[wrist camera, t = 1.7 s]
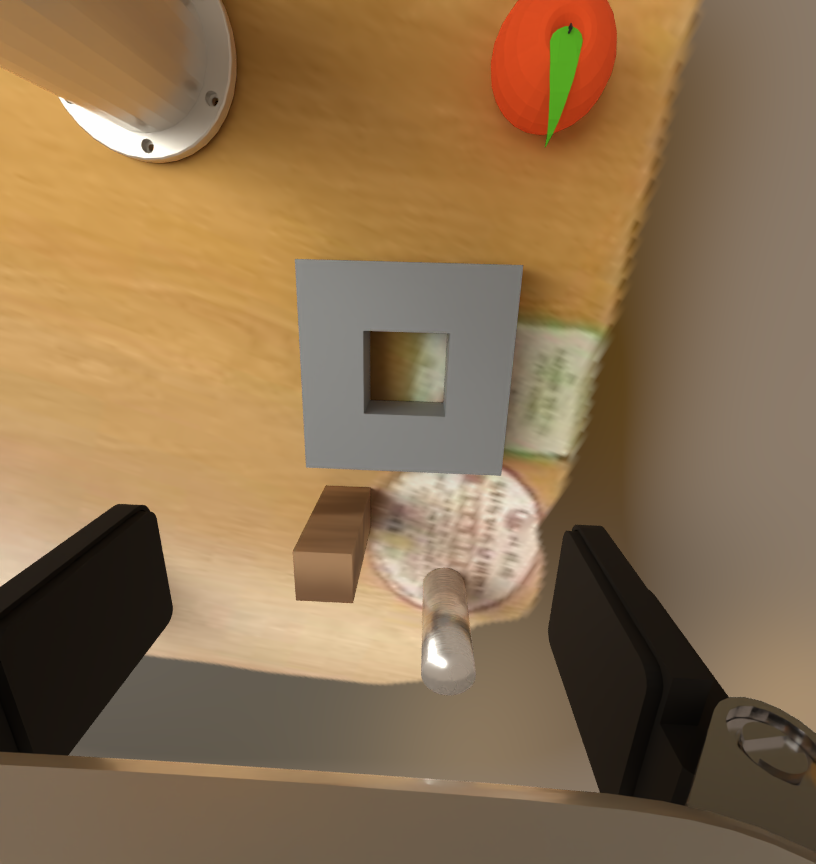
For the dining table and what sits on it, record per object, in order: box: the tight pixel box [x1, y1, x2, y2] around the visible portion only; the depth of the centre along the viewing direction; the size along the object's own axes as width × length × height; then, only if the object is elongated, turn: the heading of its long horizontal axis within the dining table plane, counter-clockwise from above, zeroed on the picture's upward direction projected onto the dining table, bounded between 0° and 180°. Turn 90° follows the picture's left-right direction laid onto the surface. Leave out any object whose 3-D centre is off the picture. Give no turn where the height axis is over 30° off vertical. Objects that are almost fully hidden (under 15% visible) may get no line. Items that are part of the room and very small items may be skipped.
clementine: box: [491, 0, 617, 147], centre depth 25 cm, size 8×7×7 cm
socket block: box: [295, 259, 523, 476], centre depth 33 cm, size 15×15×4 cm
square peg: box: [293, 486, 371, 603], centre depth 35 cm, size 4×4×10 cm
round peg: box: [421, 568, 476, 695], centre depth 37 cm, size 4×4×10 cm
